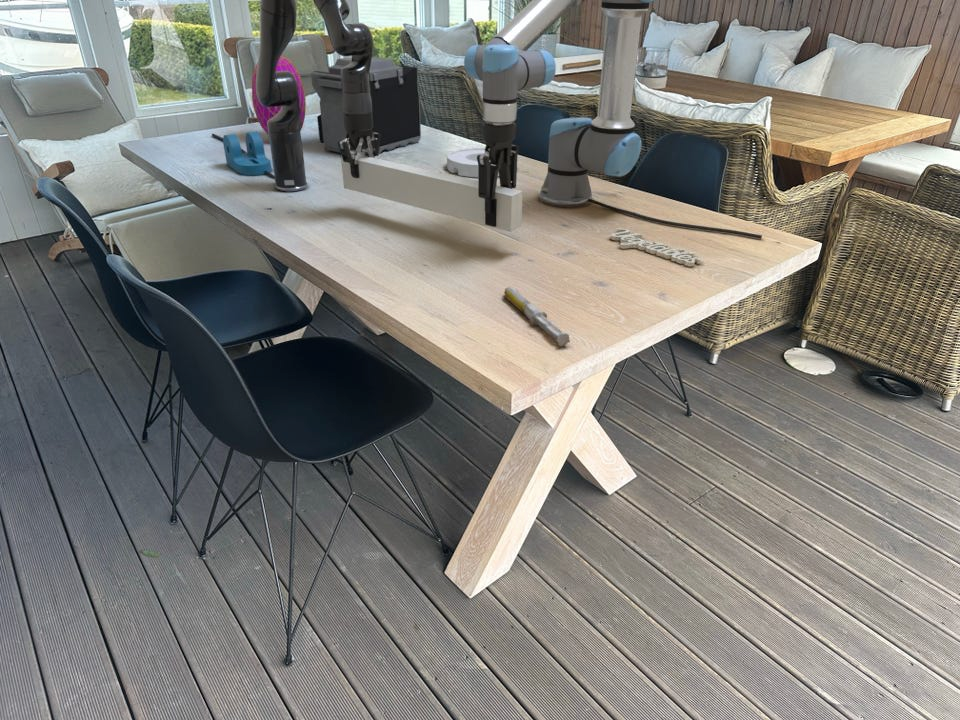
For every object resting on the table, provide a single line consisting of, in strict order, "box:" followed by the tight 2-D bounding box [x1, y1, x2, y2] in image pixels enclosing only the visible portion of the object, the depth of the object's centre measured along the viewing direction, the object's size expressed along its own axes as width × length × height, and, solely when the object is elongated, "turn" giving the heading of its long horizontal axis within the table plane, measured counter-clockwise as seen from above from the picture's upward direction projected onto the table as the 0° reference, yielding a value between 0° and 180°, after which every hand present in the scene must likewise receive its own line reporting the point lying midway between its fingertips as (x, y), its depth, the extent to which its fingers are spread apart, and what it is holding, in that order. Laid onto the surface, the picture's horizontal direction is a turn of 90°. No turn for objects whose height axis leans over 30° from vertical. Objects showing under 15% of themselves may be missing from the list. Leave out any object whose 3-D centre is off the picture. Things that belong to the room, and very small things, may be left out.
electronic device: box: [310, 56, 422, 156], centre depth 250 cm, size 37×22×30 cm, turn 144°
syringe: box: [504, 285, 571, 348], centre depth 136 cm, size 25×4×3 cm, turn 21°
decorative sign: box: [610, 227, 702, 267], centre depth 169 cm, size 26×1×10 cm
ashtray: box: [446, 147, 499, 178], centre depth 232 cm, size 23×23×4 cm
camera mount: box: [222, 131, 272, 176], centre depth 226 cm, size 18×10×10 cm, turn 35°
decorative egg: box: [251, 55, 307, 136], centre depth 257 cm, size 19×19×30 cm
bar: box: [340, 155, 524, 233], centre depth 174 cm, size 56×4×9 cm, turn 53°
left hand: (362, 175), depth 186 cm, fingers closed on bar, 4 cm apart
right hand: (497, 222), depth 165 cm, fingers closed on bar, 4 cm apart
